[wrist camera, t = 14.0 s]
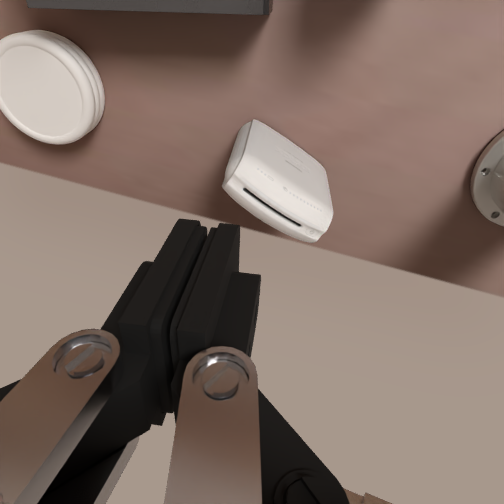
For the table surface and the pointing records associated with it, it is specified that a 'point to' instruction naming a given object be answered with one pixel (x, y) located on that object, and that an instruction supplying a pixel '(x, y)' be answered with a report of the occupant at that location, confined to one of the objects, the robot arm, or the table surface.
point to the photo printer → (279, 183)
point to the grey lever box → (162, 5)
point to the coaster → (49, 87)
